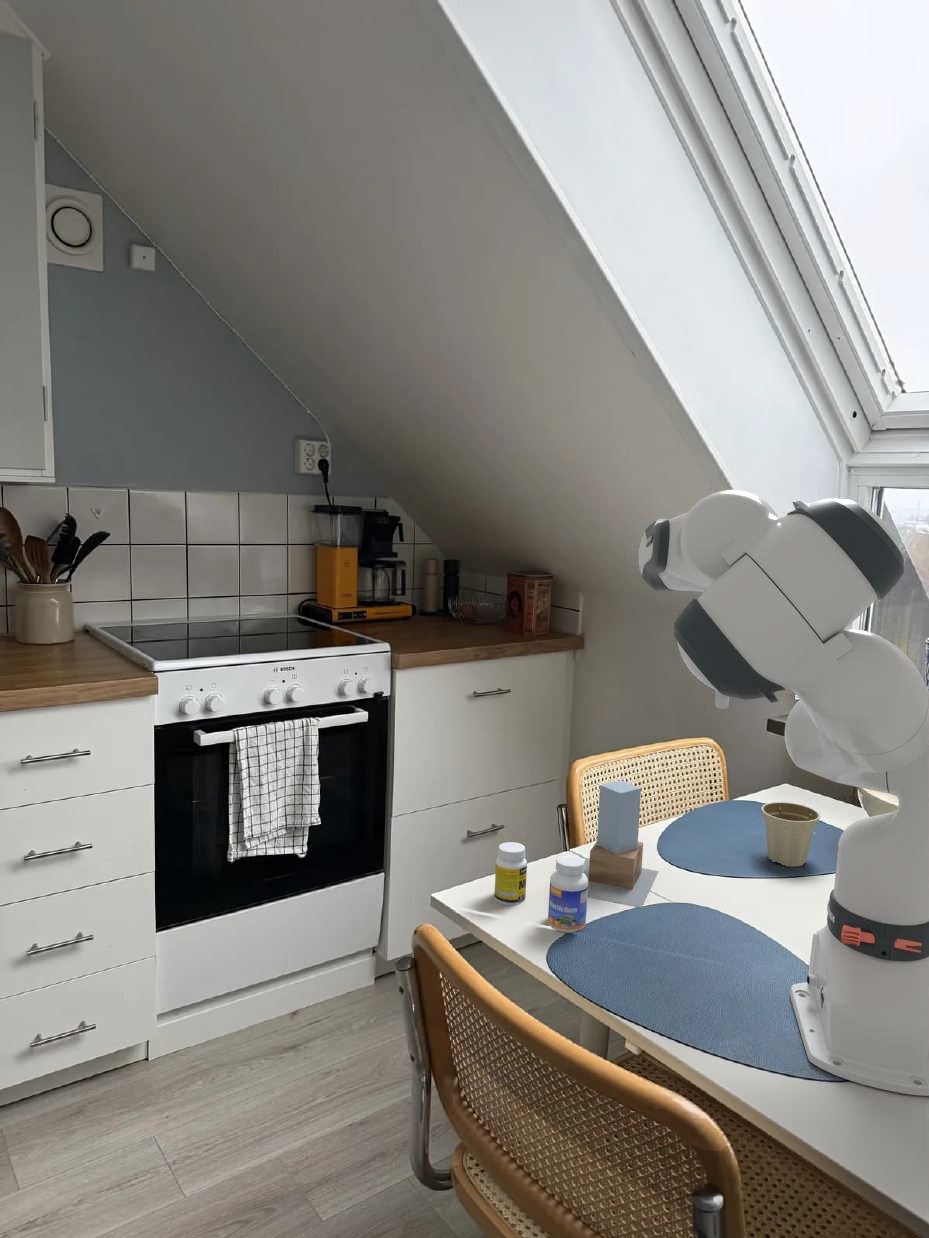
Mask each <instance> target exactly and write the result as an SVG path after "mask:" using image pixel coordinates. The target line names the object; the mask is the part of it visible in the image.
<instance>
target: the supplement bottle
mask: <svg viewBox="0 0 929 1238" xmlns="http://www.w3.org/2000/svg"><path fill="white" fill-rule="evenodd" d="M497 854H498V856H497V858H496V859H495V875H494V876H495V878H494V896H493V898H494V899H495V901H496V902H498V903H500V904H503V905H507V906H509V905H519V904H522V903H523V902H525V900H526V895H527V894H526V893H527V875H528V872H527V869H528V861H527V859H526V846H524V844H522V843H519V842H515V841H514V842H513V841H510V842H509V841H506V842H503V843H500V844H499V846H498V851H497Z"/></svg>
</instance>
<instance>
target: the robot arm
mask: <svg viewBox="0 0 929 1238" xmlns="http://www.w3.org/2000/svg"><path fill="white" fill-rule="evenodd" d="M792 505H793V507H794V509H793V510H792V511H788V512H787V513H786V515H783V516H781V517H779V516H778V514H777V512H776V511H775V509H774V508H773V507H772V506H771V505H770V504H769V503H768V502H767V501H765V499H763V498H761V497H760V496H758V495H756V494H754V493H751V492H749V491H745V490H740V489H739V490H738V489H726V490H720V491H717V492H713V493H711V494H708V495H706V496H705V497H703V498H701V499H700V500H699V501H697V502H696V503H695V504H694V505H693V506H692V507H691V508H690V510H689V511H687V512H684V513H681V514H679V515H677V516H674V517H672V518H671V519H669V518H661V517H659V518H658V519H656V520H655V521H653V522H651V524H650V525H648V527H646V529H645V531H644V534H643V535H642V537H641V540H640V543H639V548H638V567H639V571H640V574H641V578H642V579H643V581H644V582H645V583H646V584H647V585H648V586H649V587H650V588H651V589H652V590H653V591H655V592H656V591H657V592H658V591H662V592H663V591H664V592H666V591H668V592H669V591H684V592H685V591H687V592H700V593H701V592H702V593H701V595H700V596H699V597H698V598H692V599H691V600H690V602H689V603H688V604H687V605H686V606H685V607H684V608H683V610H682V611H681V612H680V613H679V615H678V617H677V618H676V619H675V620H674V623H673V636H674V639H675V640H676V641H677V643H676V644H677V647H678V650H679V653H680V656H681V658H682V661H683V662H684V664H685V665H686V667H687V668H688V670H689V671H690V672H691V673H692V675H693V676H694V677H696V678H697V680H699V681H700V682H702V683H703V684H704V685H706V686H708V687H709V688H711V689H713V690H714V693H715V698H714V699H715V701H714V702H715V704H714V706H715V707H716V709H721V710H726V709H728V708H729V704H730V698H734V699H738V700H739V699H741V700H744V701H745V700H755V699H762V698H766V699H767V701H769V702H770V703H773V704H774V703H778V702H779V699H778V697H777V696H776V694H775V693H777V692H781V691H785V690H786V689H788V690H791V691H792V692H793V693H794V694H795V695H796V696H797V698H799V700H798V701H796V703H795V704H794V705H793V707H792V708H791V710H789V714H788V715H787V718H786V722H785V726H784V742H785V745H786V746H785V747H786V749H787V752H788V755H789V757H790V758H791V761H792V762H793V764H795V766H796V767H797V768H800V769H802V770H804V771H806V772H808V773H811V774H813V775H815V776H818V777H821V778H823V779H826V780H828V781H831V782H833V783H837V784H842V785H846V786H852V787H856V788H860V789H865V790H870V791H875V792H878V793H879V792H880V793H885V794H889V795H893V796H895V797H896V798H897V799H898V806H897V809H896V810H894V811H891V812H888V813H882V814H879V815H878V814H877V815H873V816H868V817H865V818H861V819H859V820H857V821H855V822H854V821H853V822H852V823H850V824H849V825H848V826H847V827H846V828H845V830H844V831H842V833H841V835H840V837H839V840H838V847H837V855H836V856H837V857H836V865H835V866H836V867H835V874H834V875H835V878H834V887H833V889H832V890H831V892H830V894H829V899H828V902H827V908H826V910H827V917H826V925H825V926H824V927H823V928H821V929H819V930H818V931H816V932H814V933H813V935H812V941H811V946H810V947H811V949H810V958H809V965H808V971H807V972H808V975H807V976H806V982H799V983H794V984H792V985H791V986H790V991H789V996H790V997H789V998H790V1000H791V1004H792V1008H793V1012H794V1015H795V1019H796V1021H797V1025H798V1028H799V1032H800V1035H801V1039H802V1042H803V1046H804V1048H805V1054H806V1056H807V1059H808V1061H809V1062H810V1063H812V1064H813V1065H814V1066H816V1067H817V1068H820V1069H822V1070H824V1071H825V1072H828V1073H830V1074H832V1075H834V1076H836V1077H839V1078H843V1079H845V1080H848V1081H850V1082H854V1083H858V1084H861V1085H864V1086H868V1087H872V1088H874V1089H880V1090H884V1091H889V1092H893V1093H899V1094H904V1095H910V1096H911V1095H912V1096H921V1097H926V1096H927V1097H928V1096H929V688H928V686H927V684H926V682H925V680H924V678H923V676H922V675H921V673H920V671H919V670H918V668H917V666H916V665H915V664H914V663H913V661H912V660H911V659H910V657H908V656H907V655H906V654H905V653H904V652H903V651H902V650H901V649H900V648H899V647H898V646H896V645H895V644H894V643H892V641H889V640H888V639H886V638H885V637H883V636H881V635H878V634H876V633H874V632H871V631H868V630H864V629H863V630H862V629H856V628H855V629H853V628H852V629H851V628H850V629H846V628H848V627H849V626H850V625H851V624H853V622H854V621H855V620H856V619H858V618H859V617H860V616H861V615H862V614H863V613H864V612H865V611H866V610H868V608H869V607H871V605H872V604H874V603H875V602H876V600H878V601H882V600H883V599H884V598H885V597H886V596H887V595H888V594H889V593H890V592H891V591H892V589H894V587H895V586H896V585H897V584H898V582H899V581H900V580H901V579H902V577H903V575H904V573H905V568H904V567H905V558H904V555H903V554H902V552H901V551H900V547H899V544H898V541H897V538H896V537H895V535H894V533H893V531H892V530H891V529H890V527H889V526H888V525H887V523H886V522H885V521H884V520H883V519H882V518H881V517H880V516H879V515H878V514H876V513H875V512H873V511H871V510H870V509H869V508H866V507H864V506H862V505H860V504H858V503H857V502H856V501H854V500H852V499H847V498H844V499H843V498H824V499H820V500H816V501H813V502H810V503H806V502H804V501H802V500H801V499H797V500H794V501H792Z"/></svg>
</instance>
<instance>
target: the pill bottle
mask: <svg viewBox="0 0 929 1238" xmlns="http://www.w3.org/2000/svg"><path fill="white" fill-rule="evenodd" d="M584 861H585V860H584V859H583V858H581V857H579V856H575V855H571V854H569V855H568V854H567V855H565V854H564V855H561V856H558V857H557V858H556V860H555V871H553V872H552V873H551V875H550V878H549V892H548V893H549V894H548V895H549V896H548V908H547V909H548V911H547V913H548V914H547V923H548V925H549V927H550V928H552V929H553V930H555V931H557V932H561V933H564V934H565V933H567V934H570V933H571V934H572V933H574V934H575V933H578V931H580V930H582V929H584V927H585V926H586V923H587V922H586V921H587V909H588V897H587V894H588V878H587V877H586V875H585V874H584V873H583V872H584Z"/></svg>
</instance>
